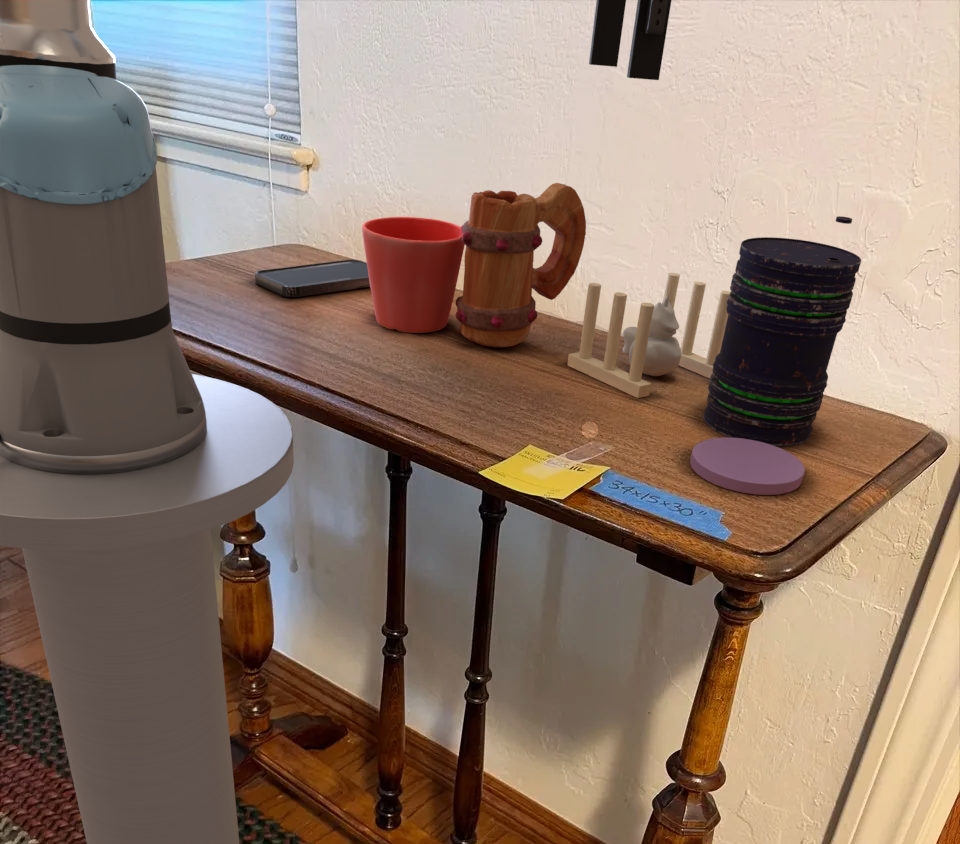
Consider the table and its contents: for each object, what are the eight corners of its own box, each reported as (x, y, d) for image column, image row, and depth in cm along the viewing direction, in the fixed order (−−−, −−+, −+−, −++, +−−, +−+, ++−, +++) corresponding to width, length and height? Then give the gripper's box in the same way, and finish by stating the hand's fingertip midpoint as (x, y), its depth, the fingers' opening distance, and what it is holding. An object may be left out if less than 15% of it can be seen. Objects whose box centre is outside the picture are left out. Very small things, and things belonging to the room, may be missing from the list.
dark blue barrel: (680, 420, 86) (725, 204, 76) (734, 396, 92) (782, 194, 82) (781, 456, 81) (843, 230, 71) (830, 428, 87) (894, 217, 77)
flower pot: (381, 341, 98) (383, 240, 92) (348, 310, 106) (348, 215, 100) (476, 335, 102) (483, 239, 96) (437, 306, 110) (442, 215, 104)
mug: (475, 358, 96) (487, 195, 87) (434, 333, 101) (442, 178, 93) (590, 343, 103) (612, 191, 94) (546, 321, 108) (564, 176, 100)
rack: (637, 398, 90) (653, 309, 85) (567, 365, 96) (578, 281, 91) (725, 378, 97) (744, 295, 92) (654, 349, 103) (668, 269, 98)
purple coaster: (753, 504, 73) (756, 493, 72) (667, 460, 78) (669, 449, 78) (824, 480, 77) (827, 469, 77) (738, 440, 83) (740, 429, 82)
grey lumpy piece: (659, 387, 93) (675, 303, 88) (604, 368, 96) (616, 286, 92) (688, 375, 96) (705, 294, 92) (634, 358, 100) (647, 278, 95)
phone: (250, 271, 111) (356, 258, 120) (251, 281, 112) (355, 267, 120) (288, 288, 106) (394, 273, 115) (288, 298, 107) (394, 283, 116)
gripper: (768, -254, 68) (705, 88, 80) (660, -205, 88) (623, 63, 100) (667, -269, 67) (619, 81, 79) (582, -215, 87) (553, 57, 99)
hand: (621, 72), depth 89 cm, fingers open, 13 cm apart
